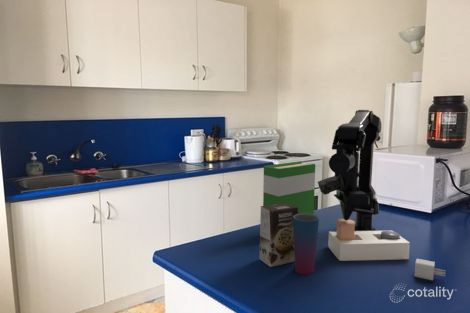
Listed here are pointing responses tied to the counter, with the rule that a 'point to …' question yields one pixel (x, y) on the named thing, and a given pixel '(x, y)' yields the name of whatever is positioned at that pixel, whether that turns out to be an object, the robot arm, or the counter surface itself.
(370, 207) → the robot arm
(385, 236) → the charcoal plunger
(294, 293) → the counter surface
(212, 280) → the counter surface
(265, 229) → the brown cookie box
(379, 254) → the tray
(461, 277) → the counter surface
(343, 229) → the terracotta plunger
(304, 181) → the hardback book
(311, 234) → the cup
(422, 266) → the usb wall charger
